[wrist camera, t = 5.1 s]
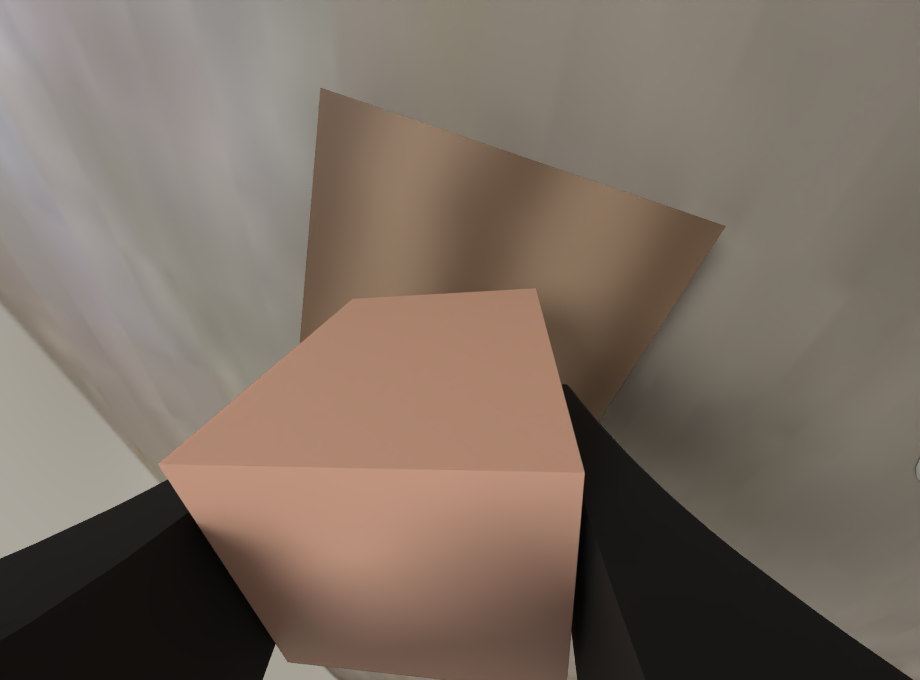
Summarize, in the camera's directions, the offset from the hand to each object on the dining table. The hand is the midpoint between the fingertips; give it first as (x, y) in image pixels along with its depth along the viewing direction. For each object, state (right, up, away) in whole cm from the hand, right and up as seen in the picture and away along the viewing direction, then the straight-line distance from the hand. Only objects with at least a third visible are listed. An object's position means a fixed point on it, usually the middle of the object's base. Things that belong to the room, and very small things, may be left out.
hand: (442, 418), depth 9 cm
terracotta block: (0, +1, +1) cm, 2 cm away
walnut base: (+1, +3, +8) cm, 9 cm away
